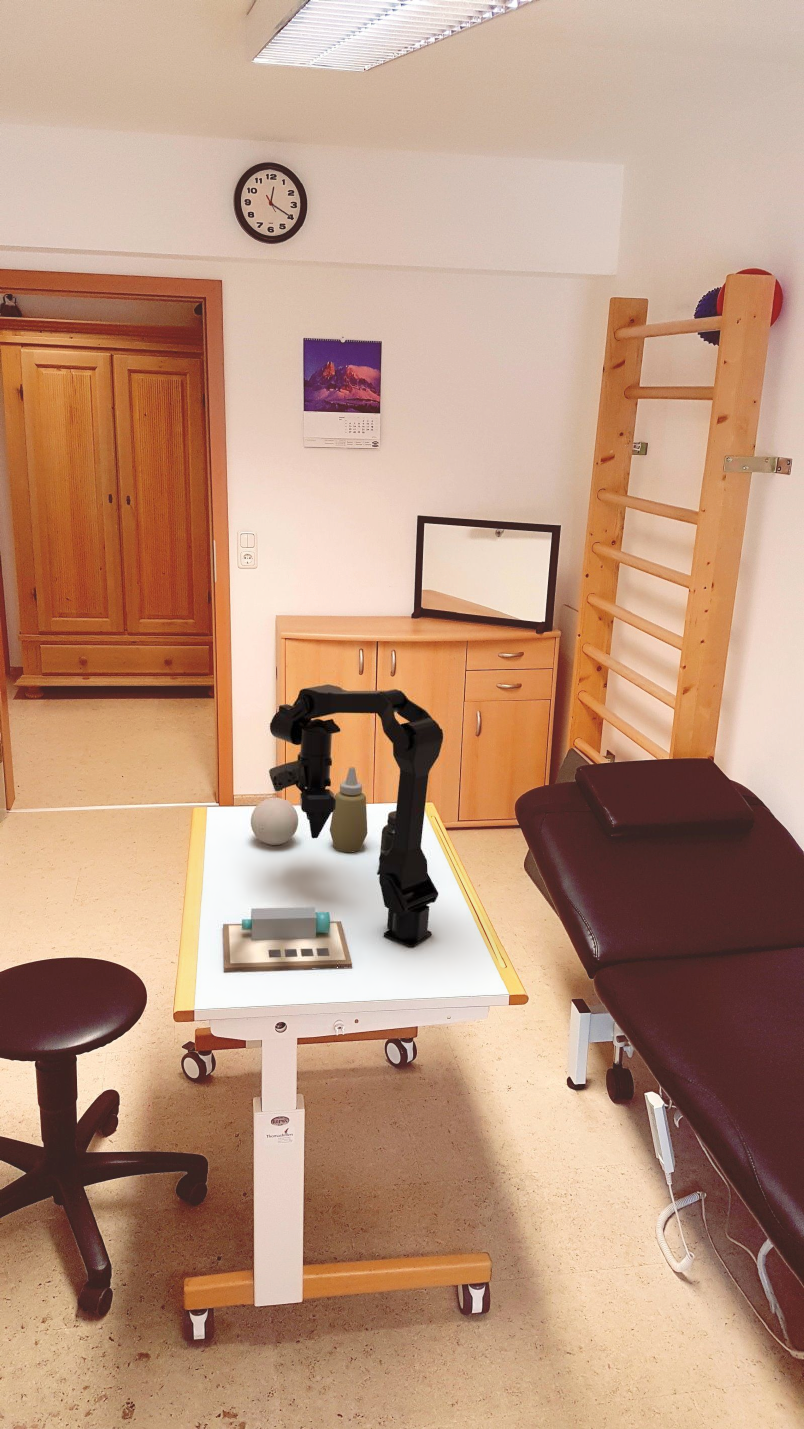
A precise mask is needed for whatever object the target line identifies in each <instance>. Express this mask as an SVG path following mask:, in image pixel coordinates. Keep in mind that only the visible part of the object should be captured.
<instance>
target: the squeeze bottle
mask: <svg viewBox="0 0 804 1429" xmlns="http://www.w3.org/2000/svg"><path fill="white" fill-rule="evenodd" d="M334 796H335V799H336V806H335V810H334V811H333V812H332V813H331V818H330V819H331V820H330V825H329V826H330V827H329V833H330V836H331V840H332V844H333V847H334V849H336V850H337V851H340V852H344V853H345V852H346V853H353V852H358V851H359V850H361V849H362V848H363V845H364V842H365V840H366V837H367V835H368V813H367V811H368V810H367V796H366V794H364V793H363V784H362V783H361V782H360V781H358V778H357V773H356V768H355V767H354V766H350V767H349V768H348V771H347V774H346V778H345V781H342V782H340V784H339V791H337V793H335V794H334Z"/></svg>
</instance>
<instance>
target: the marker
mask: <svg viewBox="0 0 804 1429" xmlns="http://www.w3.org/2000/svg"><path fill="white" fill-rule="evenodd" d="M315 908H316V907H314V906H307V907H305V906H303V907H299V906H298V907H264V908H261V907H260V908H251V909H250V910H251V911H250V918H246V919H245V918H244V919H243V918H242V919H241V924H242V930H251V938H252V940H286V939H316V933H329V931H330V922H331V916H330V912H329V911H316V909H315Z"/></svg>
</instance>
